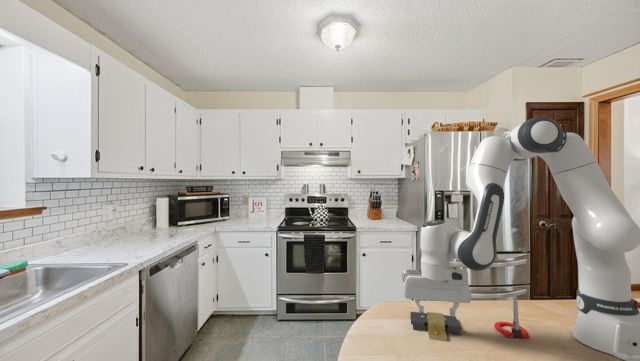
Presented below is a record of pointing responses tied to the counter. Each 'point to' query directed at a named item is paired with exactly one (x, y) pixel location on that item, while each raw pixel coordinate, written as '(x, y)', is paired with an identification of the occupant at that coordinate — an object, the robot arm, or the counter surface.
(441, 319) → the loose leaf
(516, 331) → the tow hook
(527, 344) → the counter surface
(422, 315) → the fixed leaf
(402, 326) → the counter surface
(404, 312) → the counter surface
